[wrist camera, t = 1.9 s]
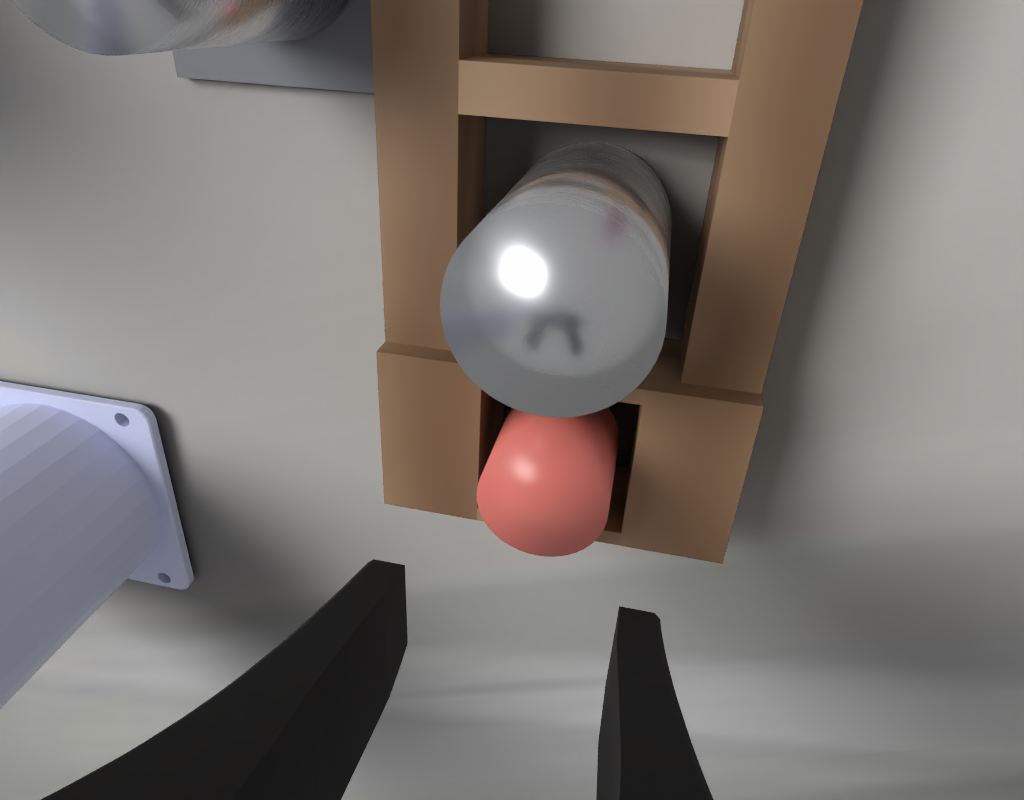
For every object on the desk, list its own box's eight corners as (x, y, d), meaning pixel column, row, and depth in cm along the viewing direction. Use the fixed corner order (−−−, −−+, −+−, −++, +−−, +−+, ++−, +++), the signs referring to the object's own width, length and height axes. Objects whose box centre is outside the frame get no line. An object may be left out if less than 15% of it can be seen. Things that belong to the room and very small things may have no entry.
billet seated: (506, 293, 19) (440, 401, 14) (514, 134, 17) (439, 191, 12) (658, 311, 18) (647, 432, 13) (684, 149, 16) (685, 217, 11)
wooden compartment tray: (419, 444, 22) (384, 503, 19) (404, -308, 13) (338, -382, 11) (717, 493, 20) (722, 563, 18) (914, -315, 12) (978, -403, 9)
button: (502, 472, 19) (475, 543, 17) (507, 376, 18) (477, 438, 15) (611, 490, 19) (600, 566, 16) (626, 393, 17) (616, 460, 15)
